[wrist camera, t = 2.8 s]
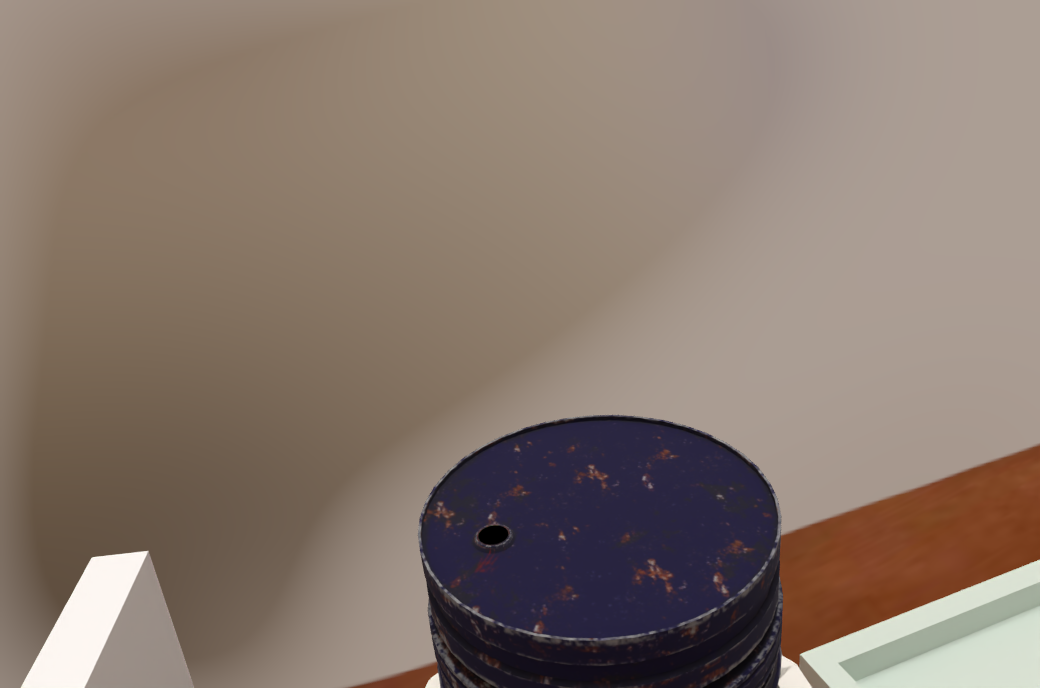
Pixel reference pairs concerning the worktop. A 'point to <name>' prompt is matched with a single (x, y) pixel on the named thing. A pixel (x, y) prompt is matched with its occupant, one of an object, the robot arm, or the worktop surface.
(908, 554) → the worktop surface
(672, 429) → the rusty blue drum
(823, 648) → the tray
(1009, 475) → the worktop surface
